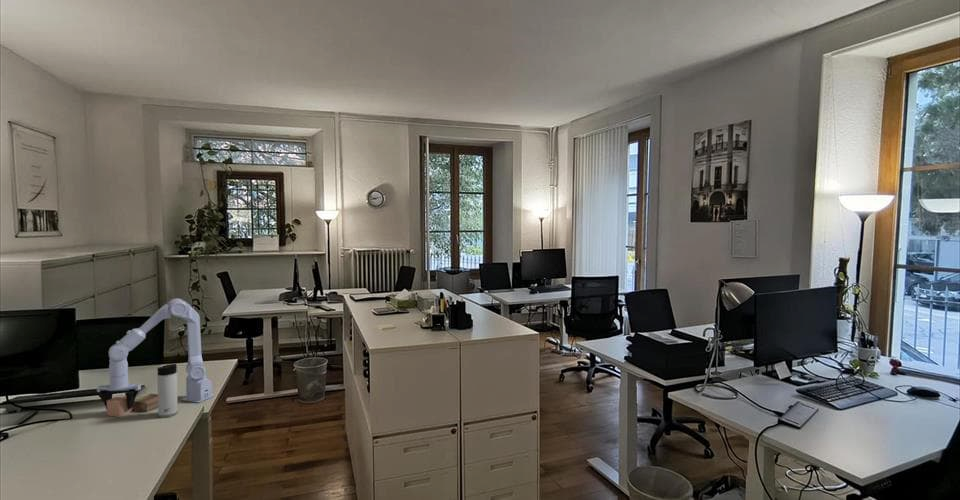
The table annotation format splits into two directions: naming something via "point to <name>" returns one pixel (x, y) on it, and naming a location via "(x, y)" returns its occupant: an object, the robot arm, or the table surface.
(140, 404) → the walnut block
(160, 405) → the travel mug
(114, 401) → the terracotta block
